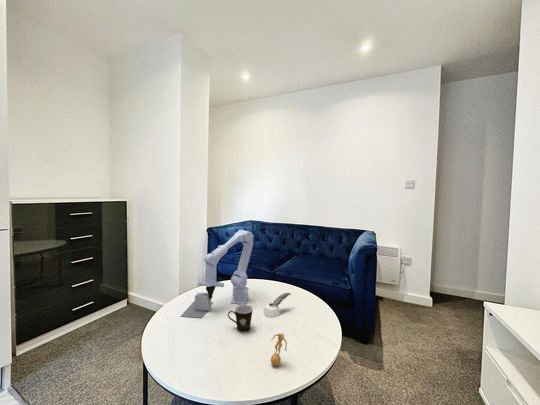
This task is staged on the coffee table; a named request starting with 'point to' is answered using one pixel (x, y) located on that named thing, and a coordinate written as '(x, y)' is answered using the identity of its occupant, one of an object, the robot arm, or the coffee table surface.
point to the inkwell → (274, 306)
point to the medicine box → (202, 301)
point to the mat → (194, 312)
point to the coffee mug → (242, 317)
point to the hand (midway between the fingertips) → (210, 298)
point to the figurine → (275, 357)
